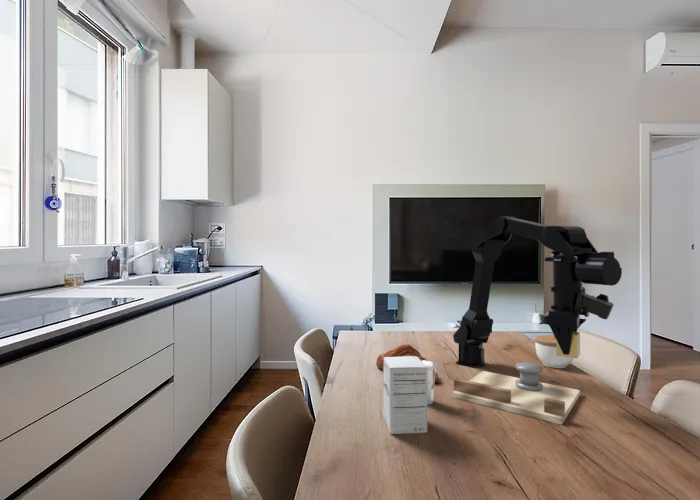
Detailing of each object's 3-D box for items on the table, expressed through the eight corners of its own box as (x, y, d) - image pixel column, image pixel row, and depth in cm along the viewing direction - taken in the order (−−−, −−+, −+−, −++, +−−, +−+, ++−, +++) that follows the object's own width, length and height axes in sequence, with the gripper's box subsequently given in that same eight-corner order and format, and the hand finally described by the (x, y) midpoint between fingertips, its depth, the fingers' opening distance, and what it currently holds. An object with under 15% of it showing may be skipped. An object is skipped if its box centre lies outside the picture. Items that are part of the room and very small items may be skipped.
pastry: (435, 367, 116) (435, 340, 116) (438, 385, 101) (438, 354, 101) (377, 364, 119) (377, 338, 119) (372, 382, 104) (372, 351, 104)
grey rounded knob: (512, 387, 96) (512, 366, 96) (519, 380, 101) (519, 360, 101) (539, 393, 92) (539, 371, 92) (545, 385, 97) (545, 365, 97)
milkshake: (426, 408, 86) (426, 362, 86) (411, 400, 91) (411, 356, 91) (442, 404, 88) (442, 359, 88) (427, 396, 93) (427, 353, 93)
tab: (556, 355, 89) (556, 332, 89) (560, 351, 92) (559, 330, 92) (577, 358, 86) (576, 335, 86) (580, 354, 89) (579, 332, 89)
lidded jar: (581, 372, 112) (581, 338, 111) (540, 369, 114) (540, 336, 114) (568, 361, 122) (568, 330, 122) (530, 359, 124) (531, 329, 124)
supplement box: (382, 417, 82) (382, 356, 82) (418, 416, 82) (418, 355, 82) (389, 435, 74) (389, 367, 74) (428, 433, 75) (428, 366, 75)
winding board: (451, 397, 93) (451, 381, 93) (483, 375, 108) (483, 361, 108) (561, 424, 78) (561, 406, 78) (579, 395, 94) (579, 379, 94)
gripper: (605, 287, 77) (606, 368, 77) (614, 281, 91) (615, 349, 91) (542, 284, 84) (543, 359, 83) (560, 279, 98) (560, 342, 98)
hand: (567, 352), depth 89 cm, fingers closed on tab, 4 cm apart
